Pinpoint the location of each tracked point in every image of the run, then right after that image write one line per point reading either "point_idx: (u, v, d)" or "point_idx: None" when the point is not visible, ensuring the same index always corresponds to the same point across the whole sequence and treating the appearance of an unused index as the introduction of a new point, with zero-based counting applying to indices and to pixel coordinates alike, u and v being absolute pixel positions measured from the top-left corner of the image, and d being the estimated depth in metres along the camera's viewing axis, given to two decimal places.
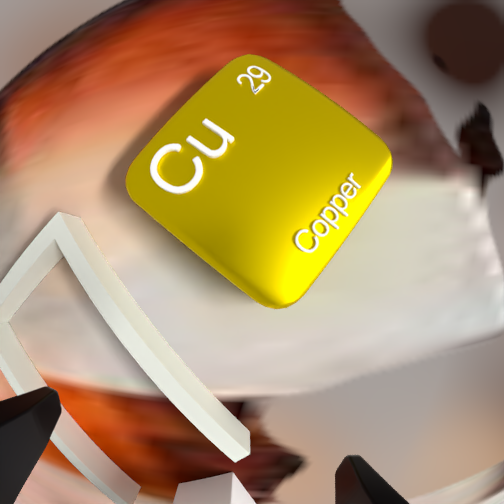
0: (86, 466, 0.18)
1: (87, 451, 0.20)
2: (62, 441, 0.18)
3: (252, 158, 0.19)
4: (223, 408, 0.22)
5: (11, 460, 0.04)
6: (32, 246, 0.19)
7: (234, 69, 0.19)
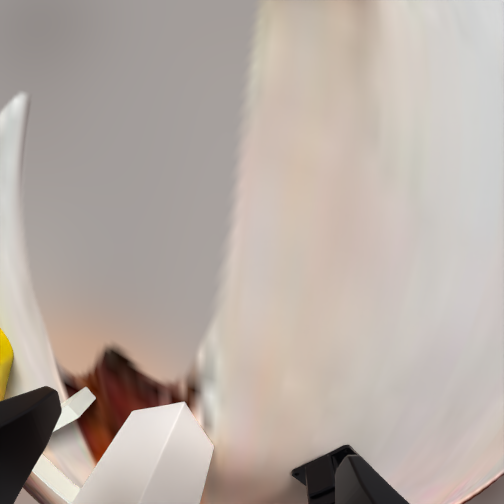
0: None
1: None
2: None
3: None
4: (69, 398, 0.23)
5: (11, 461, 0.04)
6: None
7: None
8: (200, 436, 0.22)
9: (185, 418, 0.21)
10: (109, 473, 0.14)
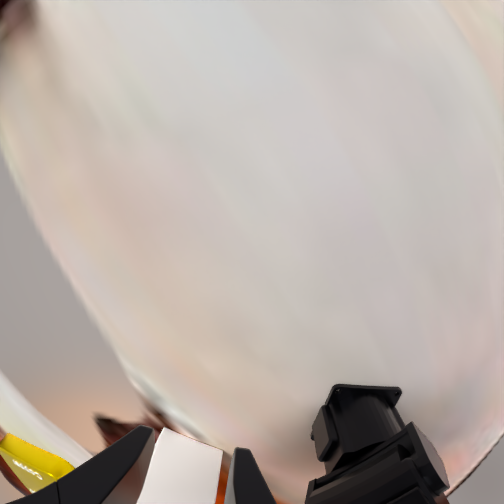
0: None
1: None
2: None
3: None
4: None
5: None
6: None
7: None
8: (197, 449, 0.22)
9: (169, 441, 0.21)
10: None
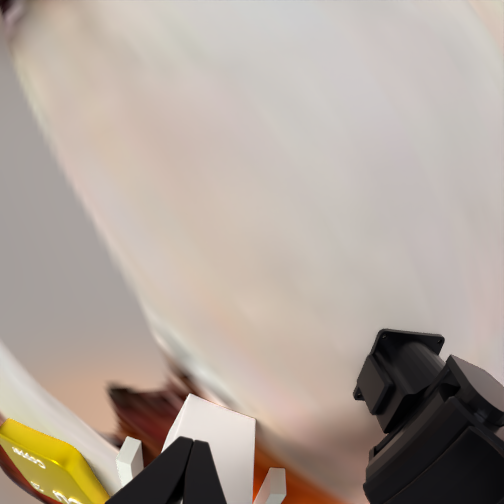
0: None
1: None
2: None
3: (49, 484, 0.23)
4: None
5: None
6: None
7: (42, 492, 0.24)
8: (227, 417, 0.21)
9: (196, 408, 0.20)
10: None
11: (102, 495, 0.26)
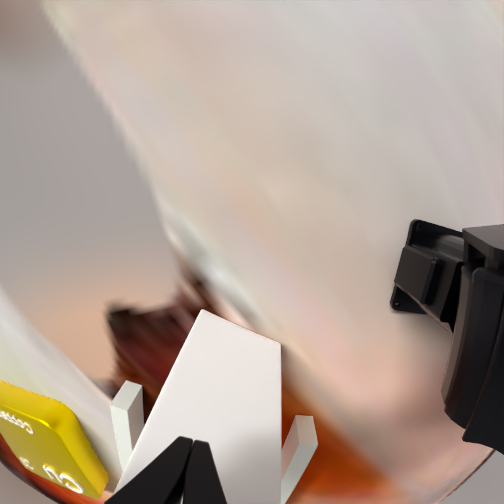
0: None
1: None
2: None
3: (39, 457, 0.21)
4: None
5: None
6: None
7: (33, 471, 0.23)
8: (247, 337, 0.19)
9: (209, 324, 0.18)
10: None
11: (99, 470, 0.24)
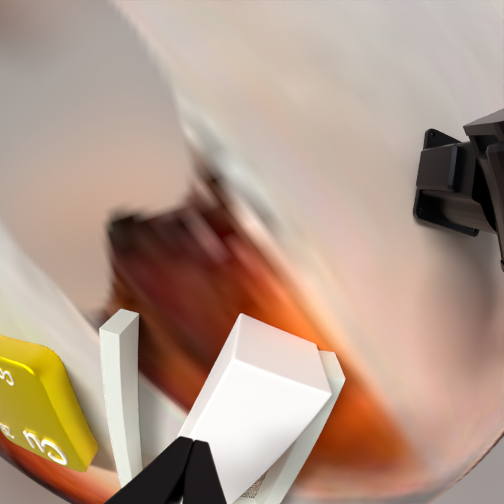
0: (298, 437, 0.18)
1: None
2: (287, 461, 0.19)
3: (19, 419, 0.20)
4: None
5: None
6: None
7: (14, 440, 0.21)
8: None
9: None
10: None
11: (86, 436, 0.22)
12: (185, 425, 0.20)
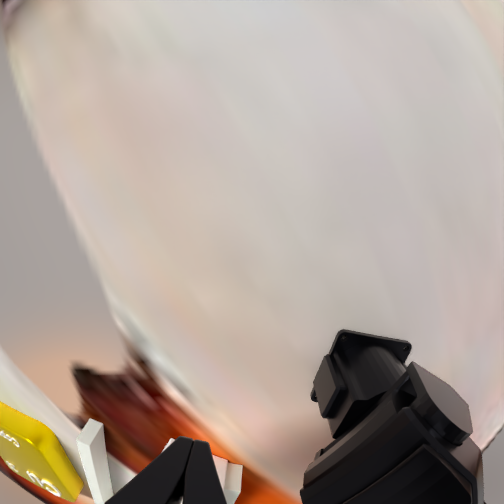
0: None
1: None
2: None
3: (23, 464, 0.22)
4: None
5: None
6: None
7: (17, 472, 0.23)
8: None
9: None
10: None
11: (74, 479, 0.25)
12: None
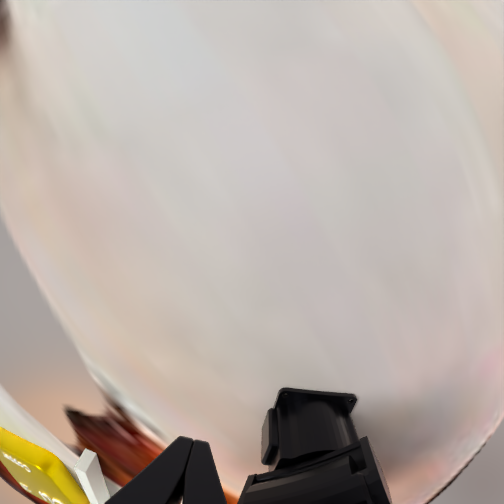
0: None
1: None
2: None
3: (35, 485, 0.24)
4: None
5: None
6: None
7: (31, 492, 0.25)
8: None
9: None
10: None
11: (81, 497, 0.27)
12: None
